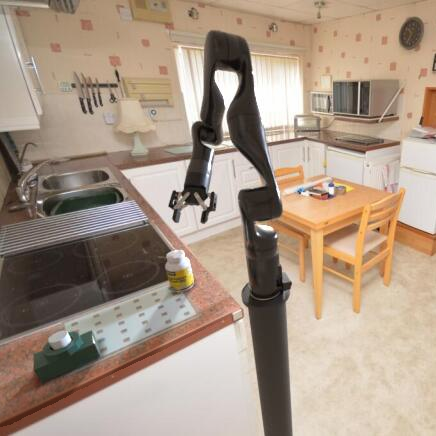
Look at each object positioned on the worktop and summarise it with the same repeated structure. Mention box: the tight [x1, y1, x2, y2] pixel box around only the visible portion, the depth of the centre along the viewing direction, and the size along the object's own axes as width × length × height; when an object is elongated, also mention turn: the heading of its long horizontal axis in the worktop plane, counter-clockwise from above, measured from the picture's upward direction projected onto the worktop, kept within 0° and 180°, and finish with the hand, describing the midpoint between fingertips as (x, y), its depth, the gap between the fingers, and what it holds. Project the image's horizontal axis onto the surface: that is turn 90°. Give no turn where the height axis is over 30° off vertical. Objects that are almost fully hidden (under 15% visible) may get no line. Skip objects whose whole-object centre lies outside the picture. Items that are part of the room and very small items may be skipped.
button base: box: [32, 329, 101, 384], centre depth 64 cm, size 10×6×6 cm, turn 131°
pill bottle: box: [164, 249, 195, 293], centre depth 86 cm, size 6×6×12 cm
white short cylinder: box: [47, 330, 72, 350], centre depth 62 cm, size 3×3×2 cm
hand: (189, 222), depth 91 cm, fingers open, 8 cm apart
